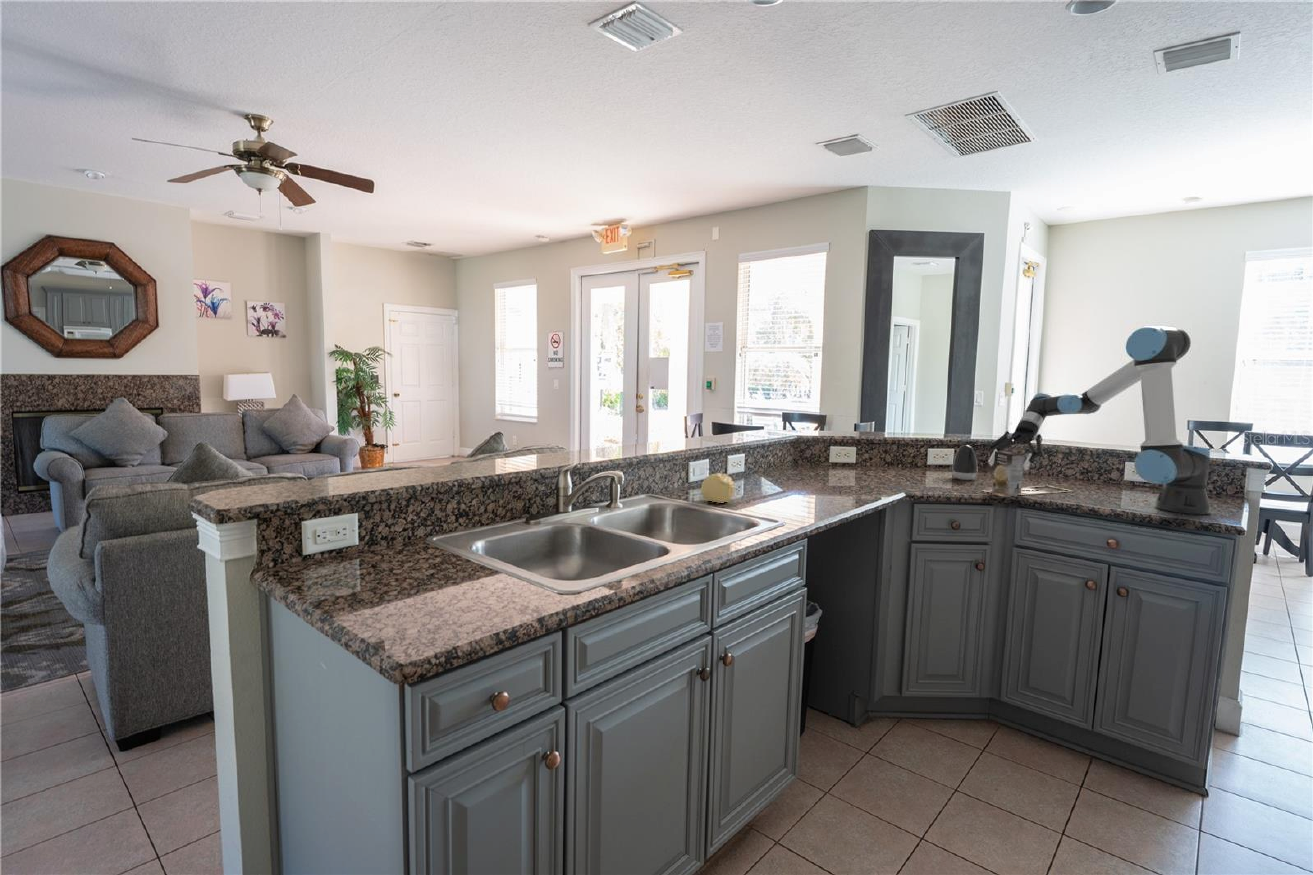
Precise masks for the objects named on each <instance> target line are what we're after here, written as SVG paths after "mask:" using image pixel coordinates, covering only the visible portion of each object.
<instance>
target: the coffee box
mask: <svg viewBox="0 0 1313 875" xmlns="http://www.w3.org/2000/svg"><path fill="white" fill-rule="evenodd" d="M1024 463H1025V454H1024V453H1020V452H1016V451H1012V450H1011V451H1010V450H1001V451H995V458H994V463H993V472H992V473H993V474H992V484H991V489H992V491H996V492H999V493H1002V494H1006V495H1020V494H1021V488H1022V486H1023V475H1024V467H1023V464H1024Z"/></svg>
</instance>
